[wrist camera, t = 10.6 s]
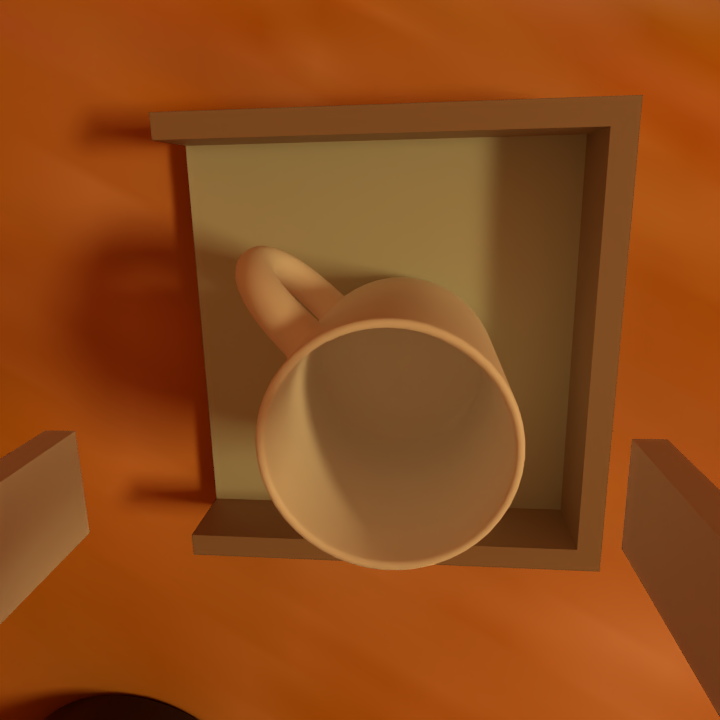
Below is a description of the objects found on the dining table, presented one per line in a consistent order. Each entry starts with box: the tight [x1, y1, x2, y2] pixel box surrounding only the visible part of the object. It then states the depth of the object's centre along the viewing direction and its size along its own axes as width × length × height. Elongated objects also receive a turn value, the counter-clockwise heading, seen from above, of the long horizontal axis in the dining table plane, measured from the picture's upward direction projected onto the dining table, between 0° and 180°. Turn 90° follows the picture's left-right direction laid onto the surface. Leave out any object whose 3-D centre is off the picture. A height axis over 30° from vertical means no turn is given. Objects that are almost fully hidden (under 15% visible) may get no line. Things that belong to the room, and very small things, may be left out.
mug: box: [235, 246, 525, 570], centre depth 24 cm, size 12×8×10 cm
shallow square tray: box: [149, 95, 643, 572], centre depth 28 cm, size 18×19×4 cm
